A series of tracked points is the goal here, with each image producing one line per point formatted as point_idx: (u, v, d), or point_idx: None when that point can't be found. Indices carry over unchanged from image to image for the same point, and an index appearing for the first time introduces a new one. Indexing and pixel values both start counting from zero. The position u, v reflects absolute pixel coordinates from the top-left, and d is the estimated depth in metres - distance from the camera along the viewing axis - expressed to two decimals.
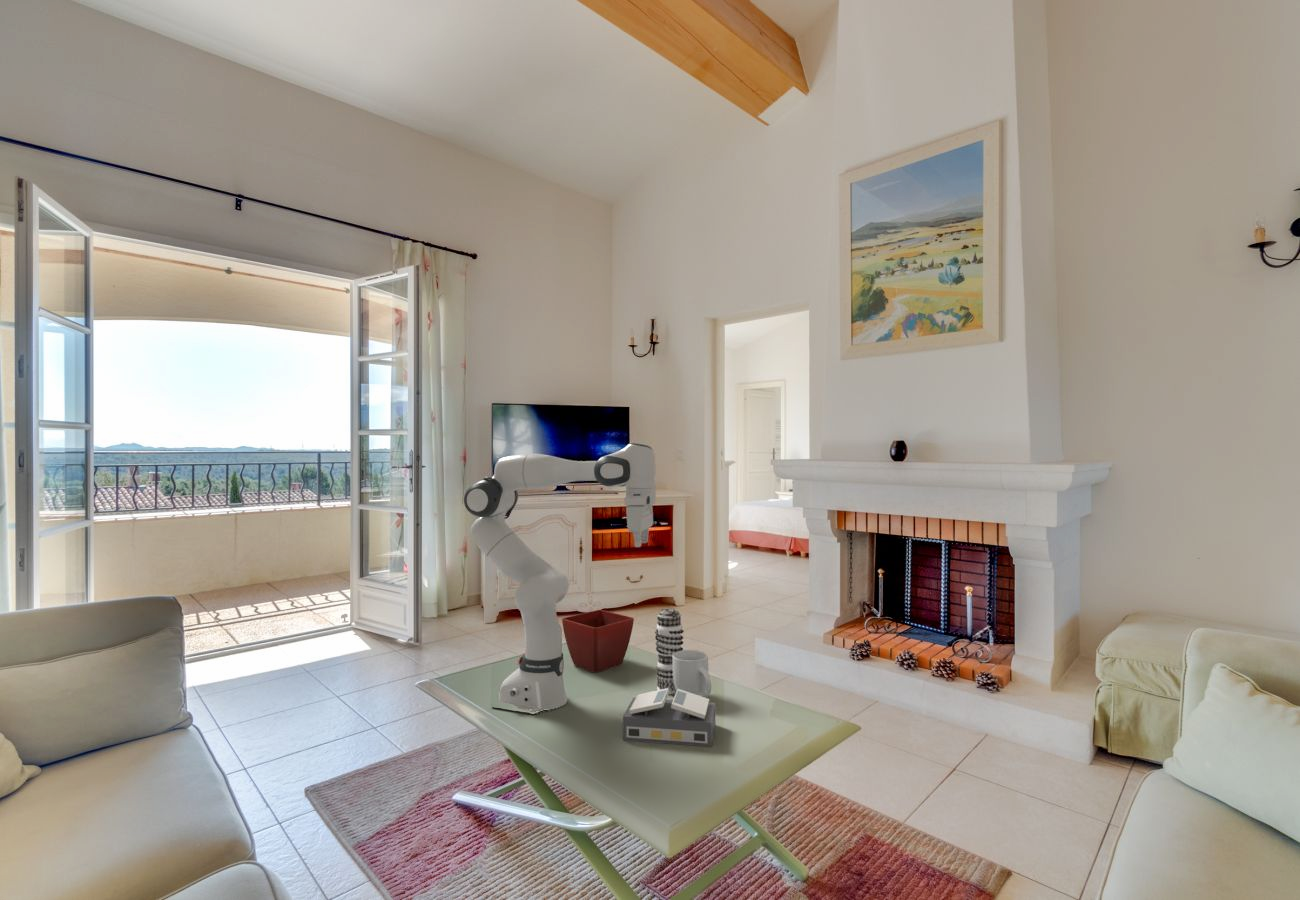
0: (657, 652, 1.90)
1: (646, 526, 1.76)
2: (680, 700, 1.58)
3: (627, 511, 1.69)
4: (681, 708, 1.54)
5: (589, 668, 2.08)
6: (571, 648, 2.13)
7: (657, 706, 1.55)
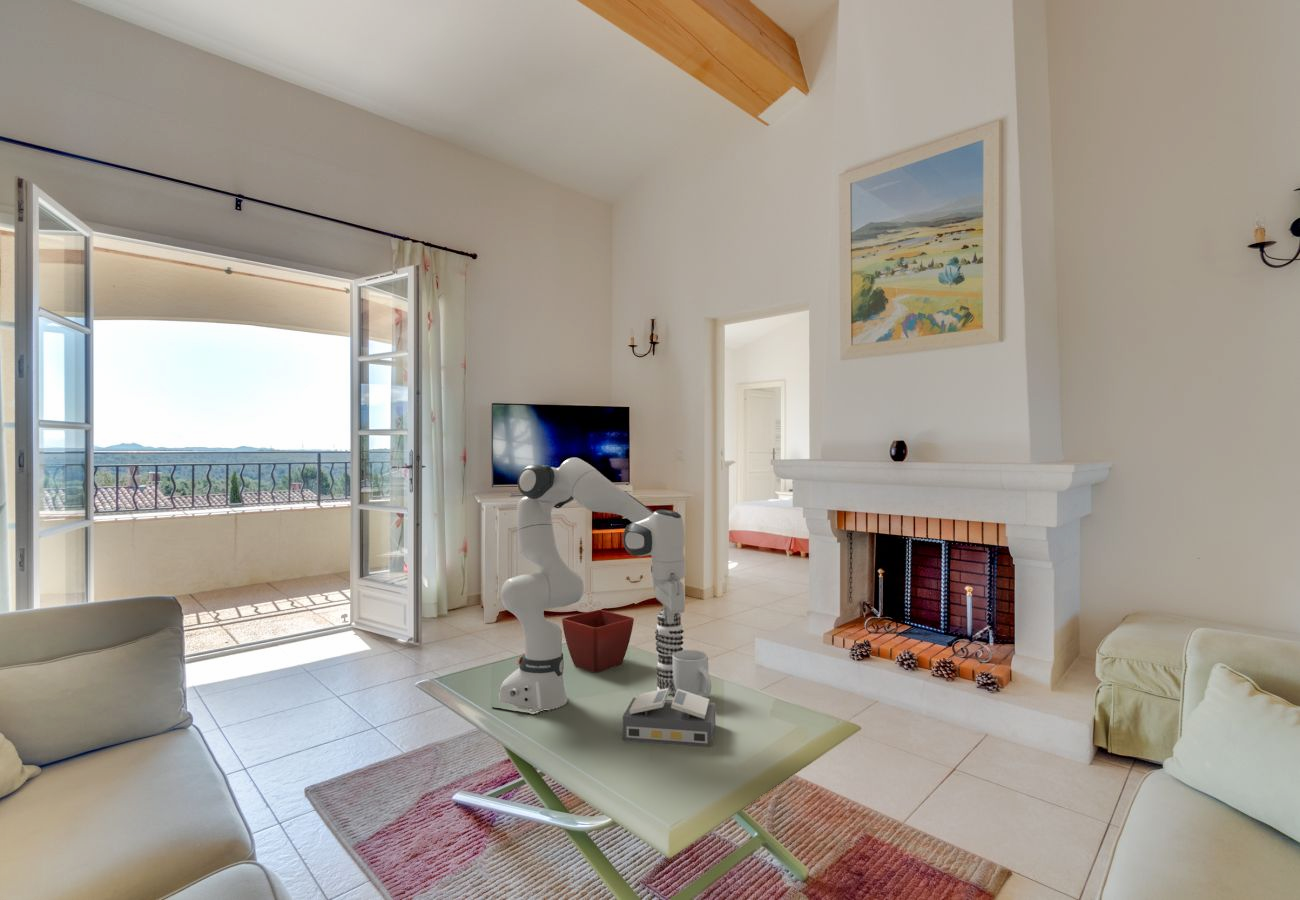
0: (657, 652, 1.90)
1: (661, 601, 1.62)
2: (680, 700, 1.58)
3: None
4: (681, 708, 1.54)
5: (589, 668, 2.08)
6: (571, 648, 2.13)
7: (657, 706, 1.55)
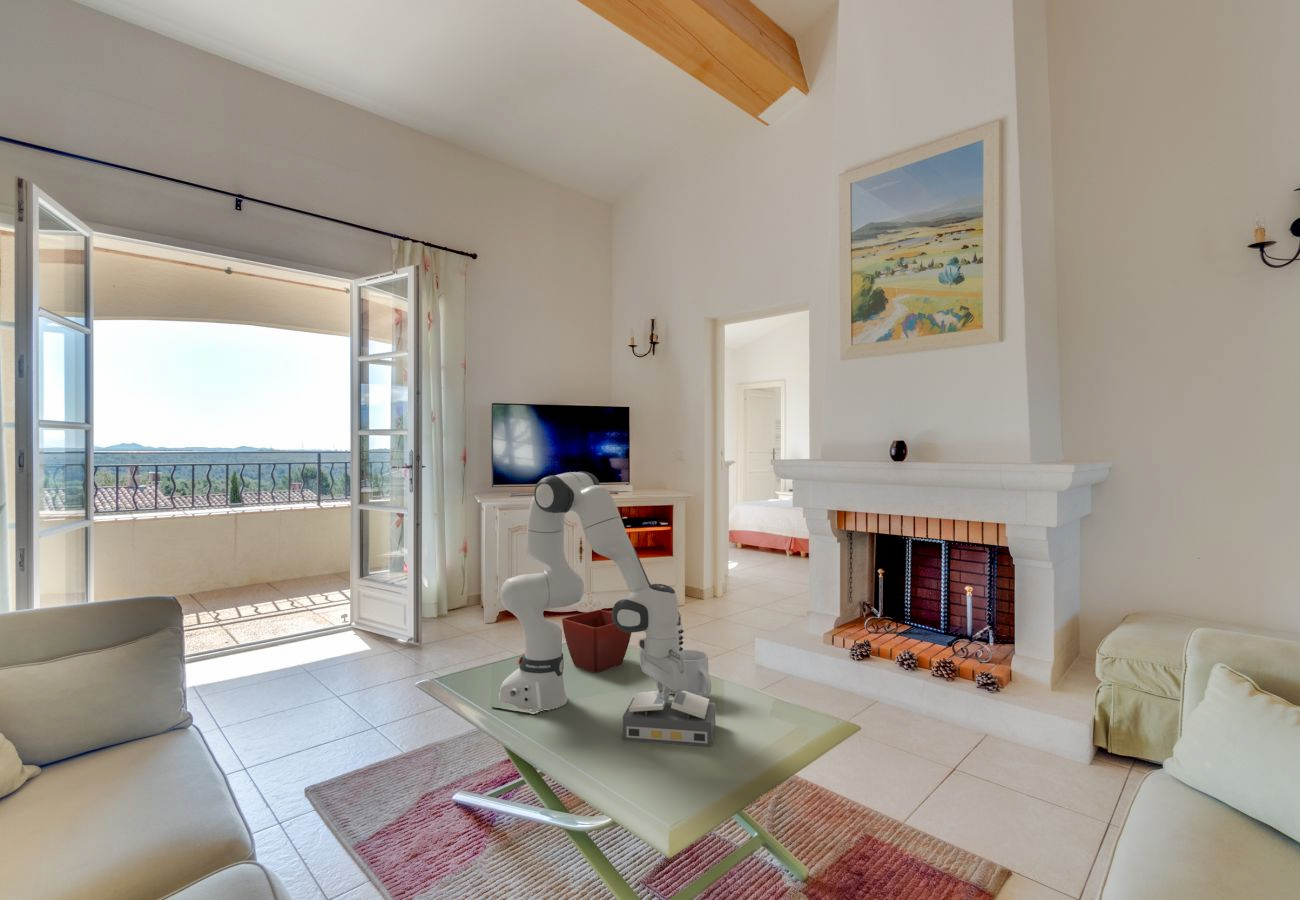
0: None
1: (655, 677, 1.61)
2: (680, 700, 1.58)
3: None
4: (681, 708, 1.54)
5: (589, 668, 2.08)
6: (571, 648, 2.13)
7: (657, 708, 1.55)
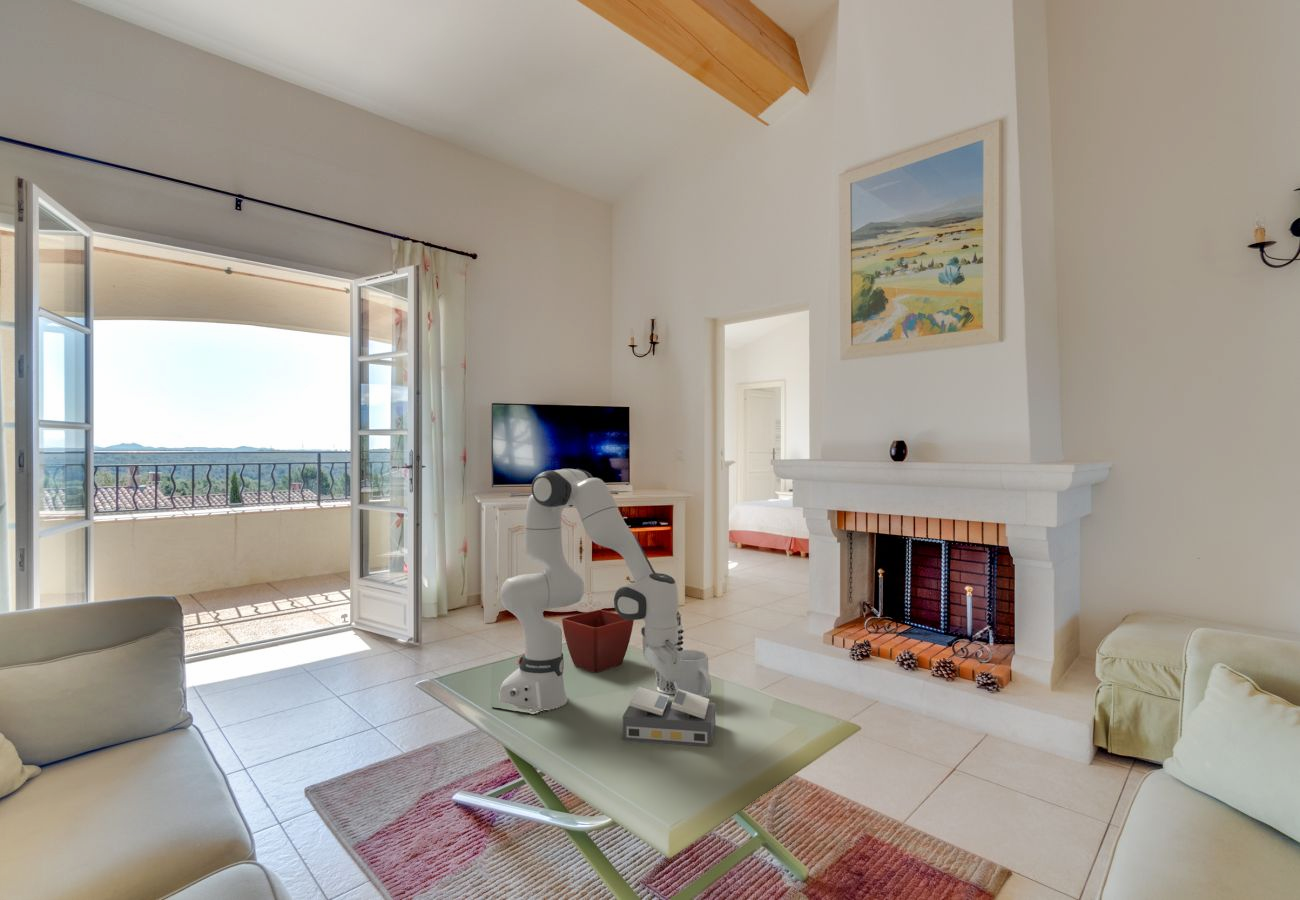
0: None
1: (653, 665, 1.62)
2: (680, 700, 1.58)
3: None
4: (681, 708, 1.54)
5: (589, 668, 2.08)
6: (571, 648, 2.13)
7: (657, 712, 1.55)
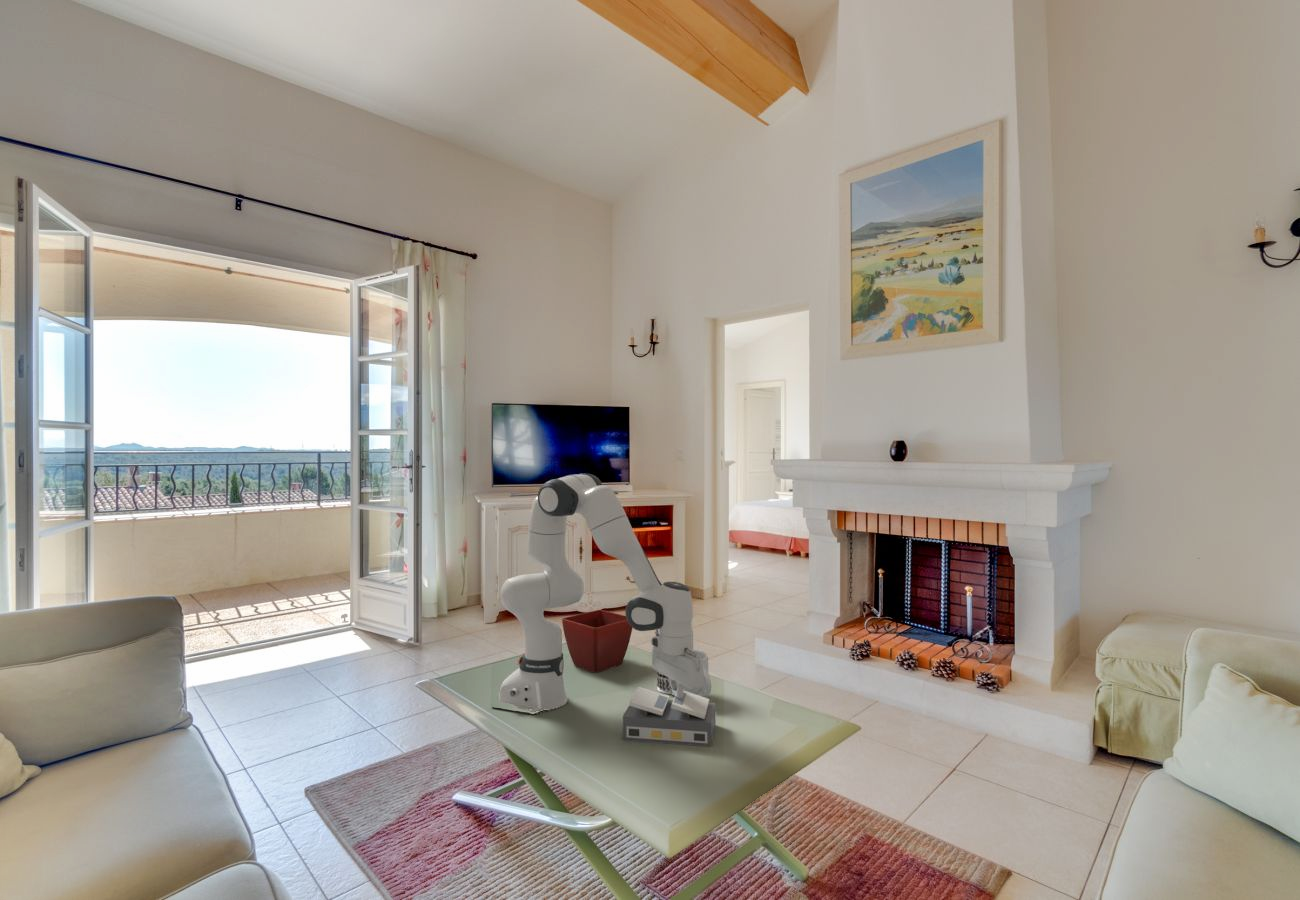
0: None
1: (668, 675, 1.60)
2: (680, 700, 1.58)
3: None
4: (681, 708, 1.54)
5: (589, 668, 2.08)
6: (571, 648, 2.13)
7: (657, 712, 1.55)
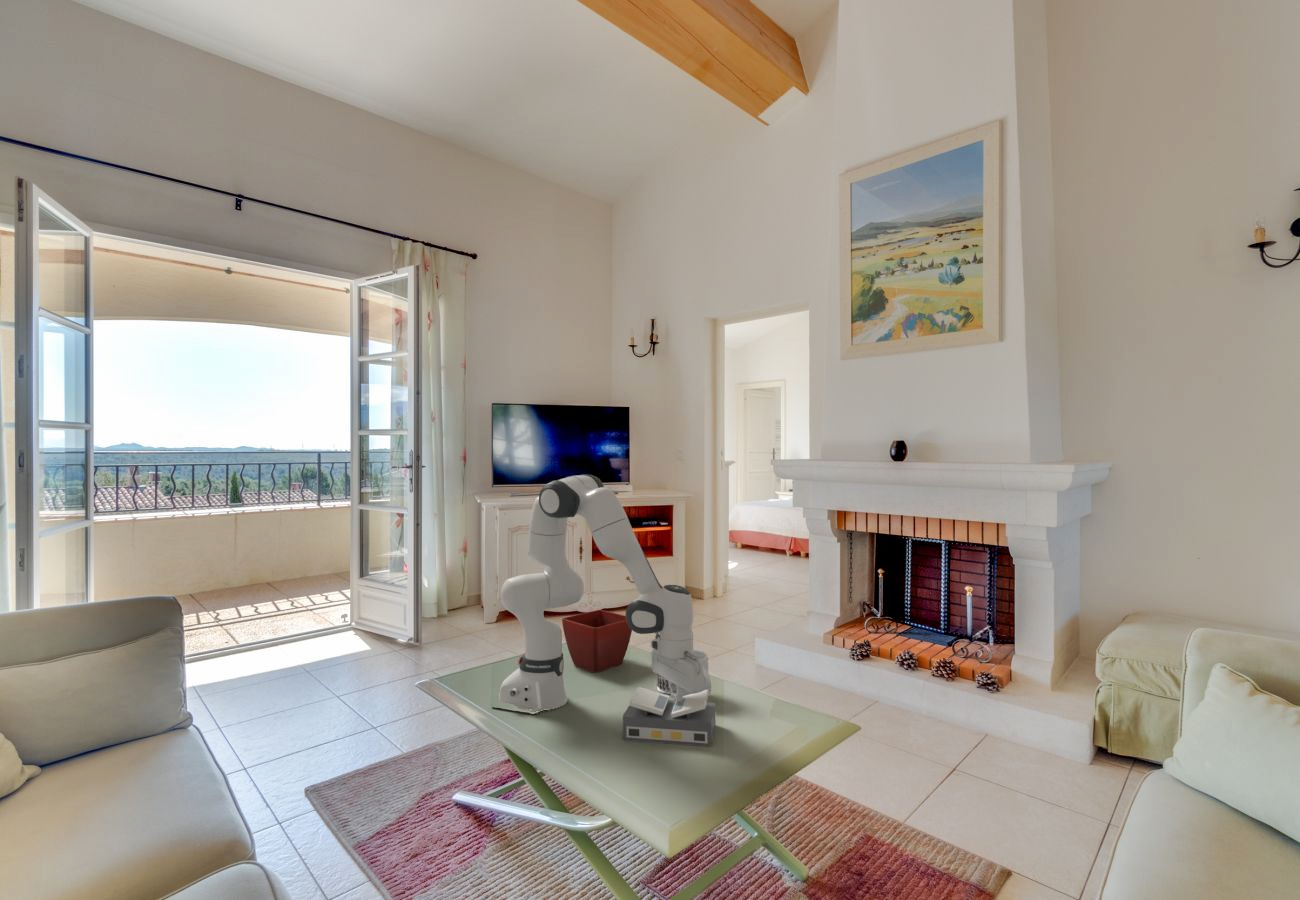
0: None
1: (668, 678, 1.60)
2: (679, 706, 1.58)
3: None
4: (681, 712, 1.54)
5: (589, 668, 2.08)
6: (571, 648, 2.13)
7: (657, 712, 1.55)
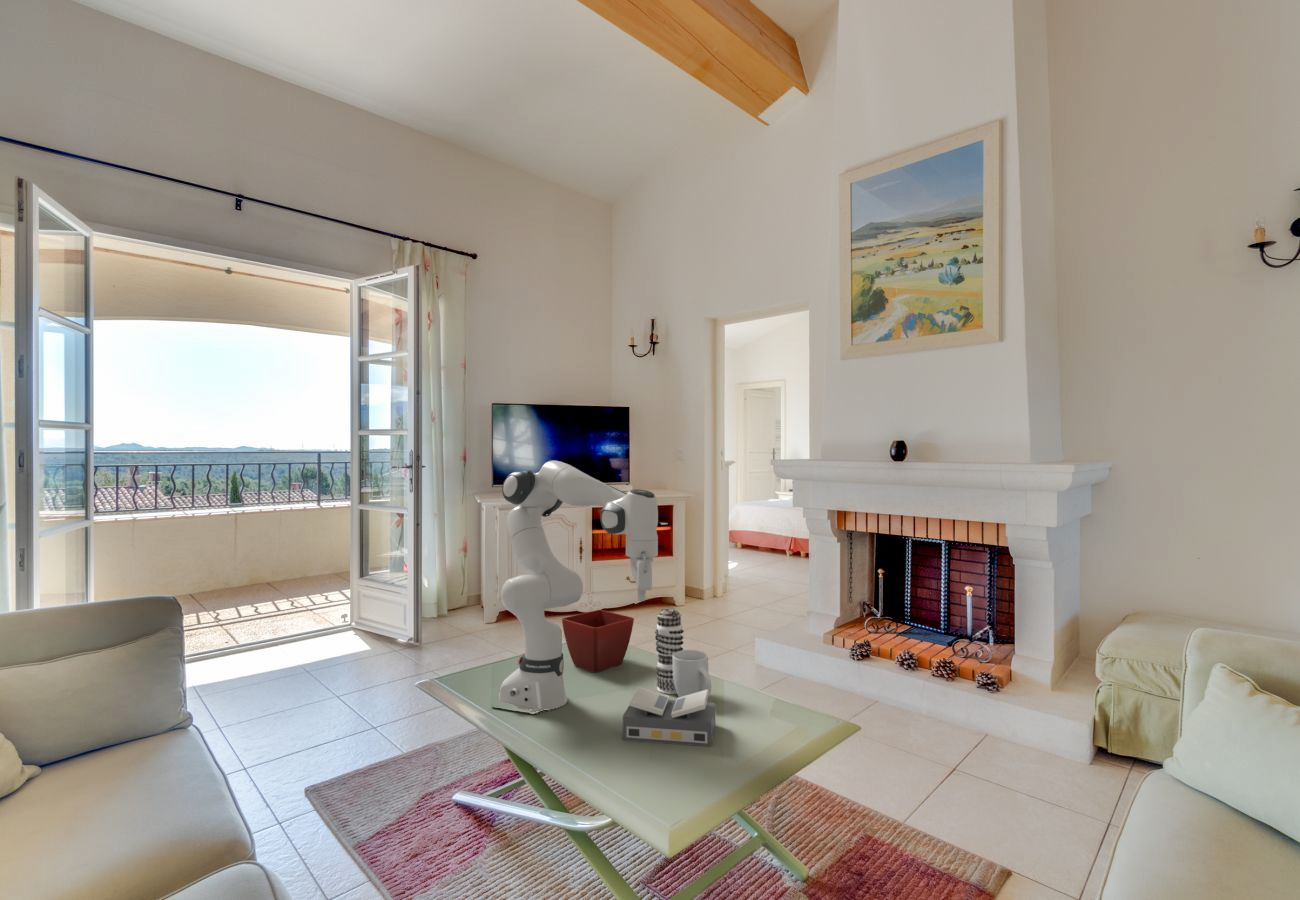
0: (657, 652, 1.90)
1: (634, 578, 1.65)
2: (679, 706, 1.58)
3: None
4: (681, 712, 1.54)
5: (589, 668, 2.08)
6: (571, 648, 2.13)
7: (657, 712, 1.55)
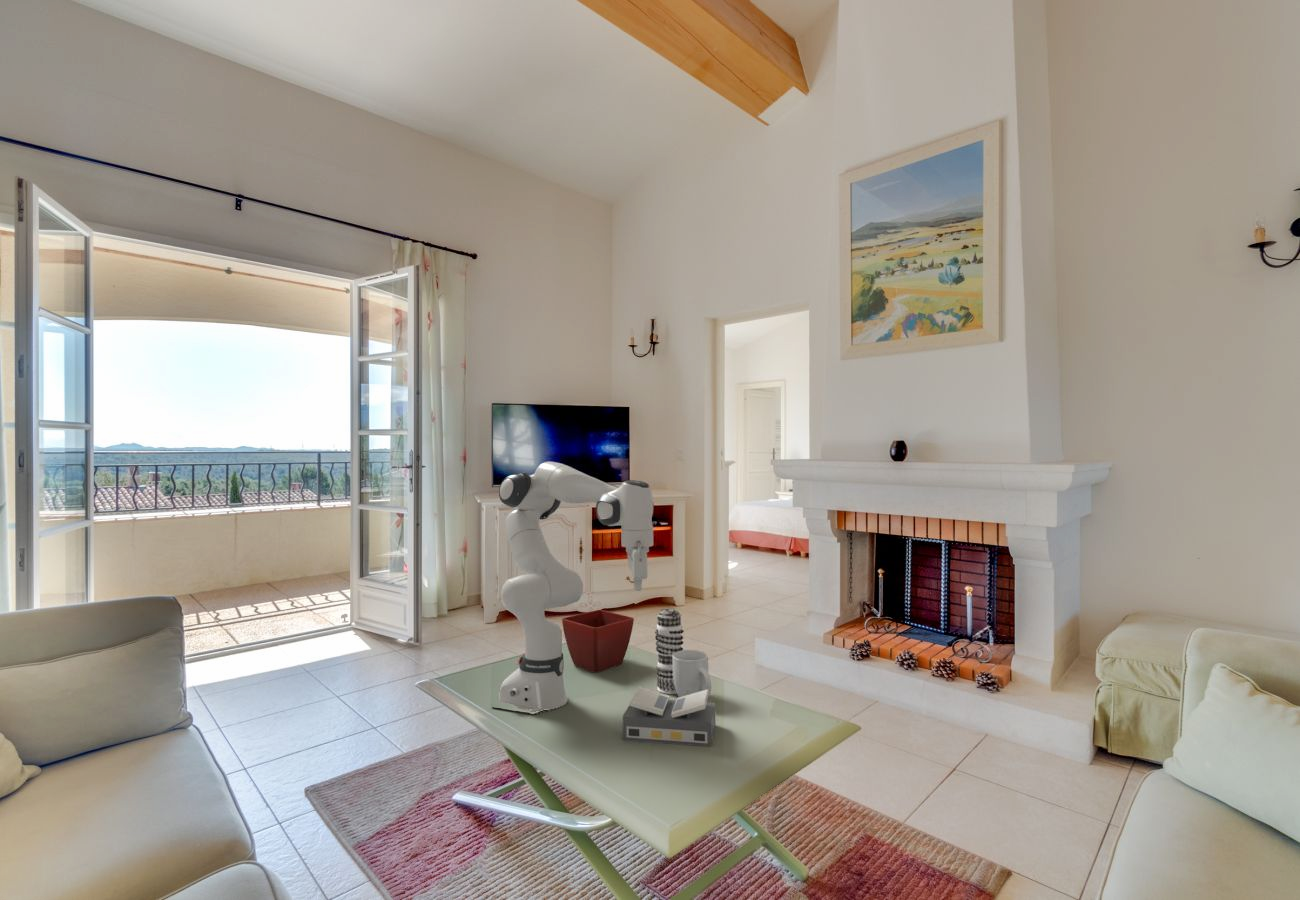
0: (657, 652, 1.90)
1: (630, 569, 1.66)
2: (679, 706, 1.58)
3: None
4: (681, 712, 1.54)
5: (589, 668, 2.08)
6: (571, 648, 2.13)
7: (657, 712, 1.55)
